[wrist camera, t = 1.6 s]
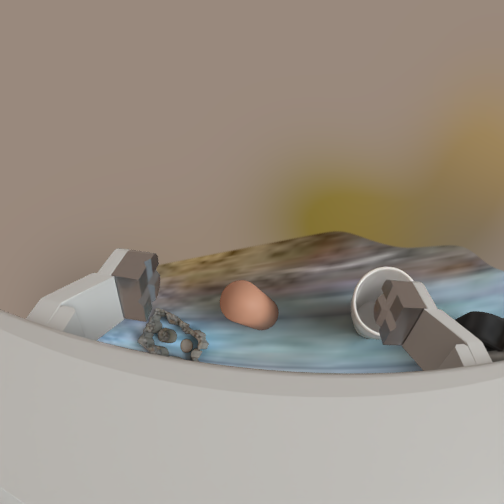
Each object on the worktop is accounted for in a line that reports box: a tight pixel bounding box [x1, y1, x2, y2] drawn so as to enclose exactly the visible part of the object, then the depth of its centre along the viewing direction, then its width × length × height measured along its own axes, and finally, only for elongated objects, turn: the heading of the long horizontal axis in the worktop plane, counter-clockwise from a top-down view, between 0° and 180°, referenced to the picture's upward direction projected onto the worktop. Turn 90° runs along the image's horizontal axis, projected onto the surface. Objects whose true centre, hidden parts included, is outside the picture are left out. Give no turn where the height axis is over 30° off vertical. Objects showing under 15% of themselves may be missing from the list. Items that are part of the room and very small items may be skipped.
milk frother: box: [455, 311, 504, 362], centre depth 24 cm, size 14×16×15 cm
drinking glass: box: [351, 267, 413, 340], centre depth 31 cm, size 7×7×15 cm
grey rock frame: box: [138, 308, 209, 362], centre depth 44 cm, size 11×8×4 cm
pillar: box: [220, 280, 278, 330], centre depth 39 cm, size 5×5×10 cm
